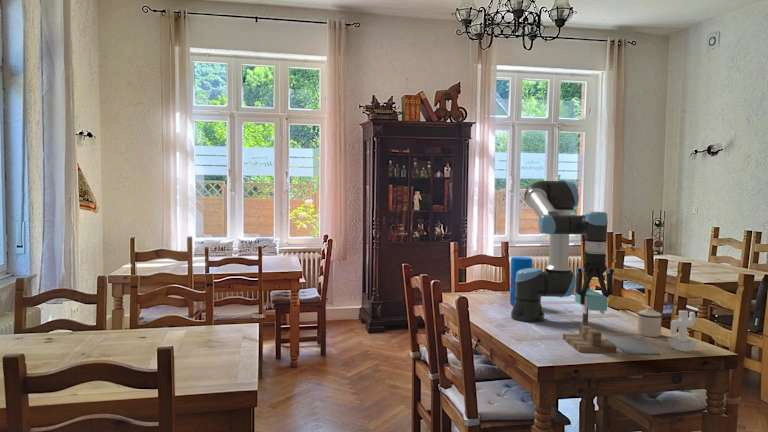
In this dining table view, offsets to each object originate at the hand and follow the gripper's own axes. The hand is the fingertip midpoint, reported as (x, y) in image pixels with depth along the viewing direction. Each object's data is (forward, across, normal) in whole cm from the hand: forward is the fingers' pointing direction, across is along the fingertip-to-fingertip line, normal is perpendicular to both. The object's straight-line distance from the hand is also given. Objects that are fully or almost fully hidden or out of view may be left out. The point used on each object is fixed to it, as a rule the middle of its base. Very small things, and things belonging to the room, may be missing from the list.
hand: (593, 312), depth 202 cm
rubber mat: (+14, +16, +2) cm, 21 cm away
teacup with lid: (+14, +32, +22) cm, 42 cm away
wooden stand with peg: (+14, 0, +4) cm, 14 cm away
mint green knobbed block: (-2, 0, +3) cm, 4 cm away
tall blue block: (+15, -8, +77) cm, 78 cm away
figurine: (+14, +34, 0) cm, 37 cm away
